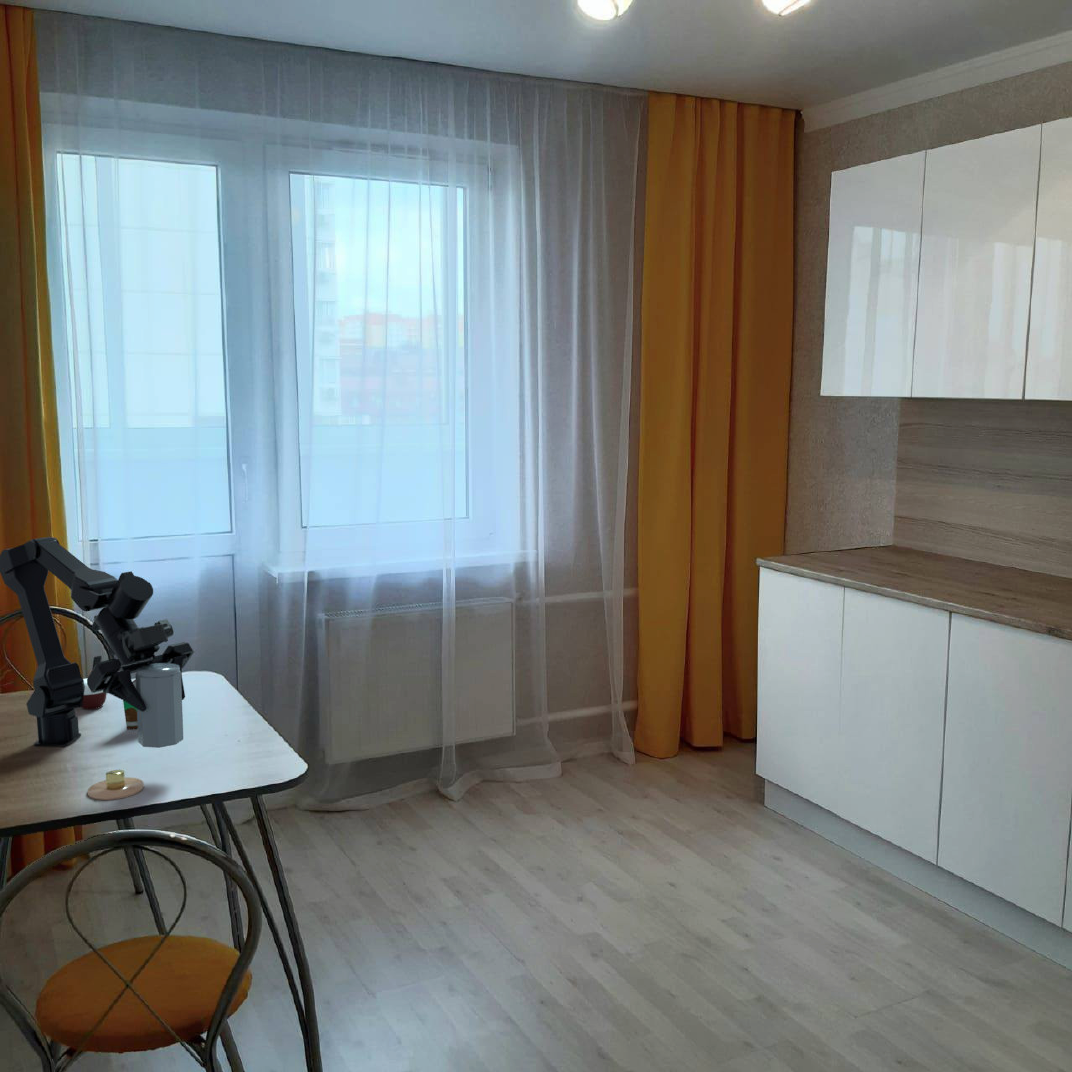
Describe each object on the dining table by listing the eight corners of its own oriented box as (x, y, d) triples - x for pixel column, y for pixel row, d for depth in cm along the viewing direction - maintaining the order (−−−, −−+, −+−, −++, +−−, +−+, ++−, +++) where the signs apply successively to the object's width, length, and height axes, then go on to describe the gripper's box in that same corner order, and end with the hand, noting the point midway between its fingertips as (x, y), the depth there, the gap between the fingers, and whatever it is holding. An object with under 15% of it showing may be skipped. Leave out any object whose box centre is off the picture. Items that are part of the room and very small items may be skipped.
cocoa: (76, 705, 234) (70, 651, 232) (107, 700, 236) (101, 647, 235) (77, 715, 225) (71, 660, 224) (109, 710, 228) (103, 655, 226)
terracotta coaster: (78, 799, 180) (77, 796, 180) (103, 779, 189) (102, 776, 188) (129, 800, 179) (129, 797, 179) (152, 780, 188) (152, 777, 188)
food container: (150, 733, 213) (147, 685, 212) (122, 731, 215) (119, 683, 213) (182, 714, 225) (179, 668, 224) (156, 713, 227) (153, 667, 225)
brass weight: (103, 790, 182) (102, 776, 182) (111, 783, 185) (110, 769, 185) (120, 790, 182) (119, 776, 182) (128, 783, 185) (127, 770, 185)
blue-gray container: (131, 746, 186) (128, 672, 184) (152, 733, 193) (149, 662, 191) (170, 748, 185) (167, 674, 183) (189, 735, 192) (187, 664, 190)
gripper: (91, 617, 180) (134, 691, 176) (184, 598, 195) (226, 666, 191) (68, 655, 186) (109, 728, 181) (160, 634, 201) (201, 701, 196)
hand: (164, 704), depth 187 cm, fingers closed on blue-gray container, 8 cm apart
